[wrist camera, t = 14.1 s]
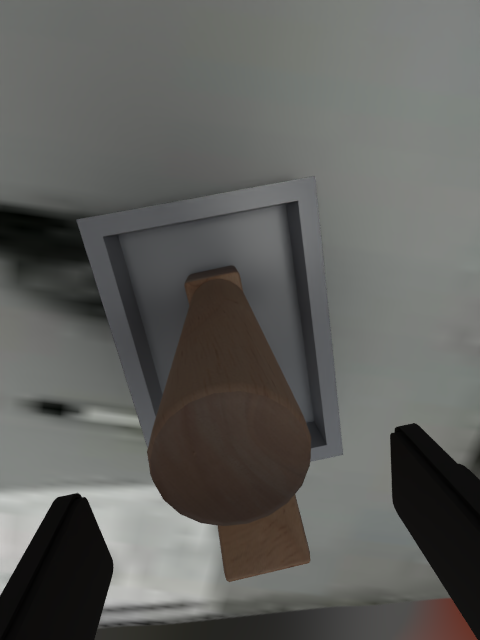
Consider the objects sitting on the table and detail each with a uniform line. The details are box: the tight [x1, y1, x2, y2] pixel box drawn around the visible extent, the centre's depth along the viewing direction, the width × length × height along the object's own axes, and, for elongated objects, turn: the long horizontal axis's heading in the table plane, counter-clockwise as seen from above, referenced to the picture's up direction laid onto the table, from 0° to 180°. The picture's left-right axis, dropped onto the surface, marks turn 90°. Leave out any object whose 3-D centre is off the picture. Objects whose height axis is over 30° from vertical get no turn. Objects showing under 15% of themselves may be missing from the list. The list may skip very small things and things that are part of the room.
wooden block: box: [147, 265, 311, 582], centre depth 16 cm, size 4×11×18 cm, turn 12°
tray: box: [77, 176, 343, 462], centre depth 24 cm, size 20×14×4 cm
